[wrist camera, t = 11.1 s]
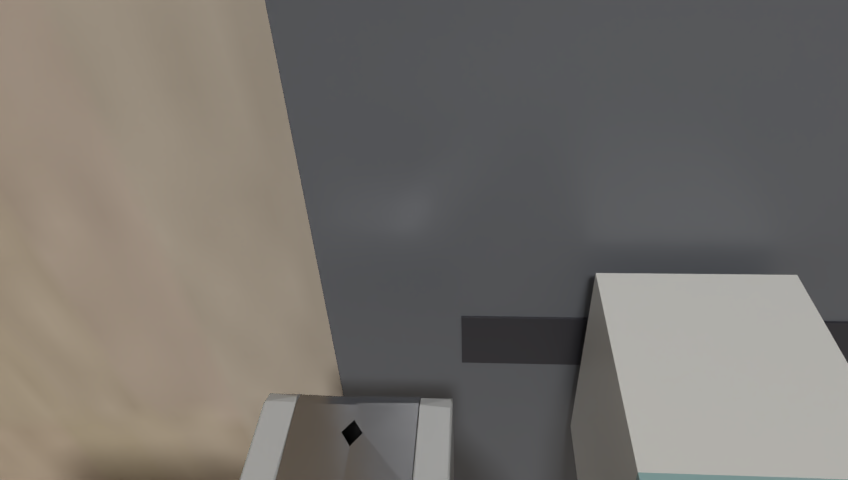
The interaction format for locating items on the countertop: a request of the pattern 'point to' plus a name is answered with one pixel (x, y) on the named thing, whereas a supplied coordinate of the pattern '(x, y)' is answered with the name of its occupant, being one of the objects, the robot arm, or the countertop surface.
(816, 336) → the fader
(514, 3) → the console
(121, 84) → the countertop surface
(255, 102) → the countertop surface
